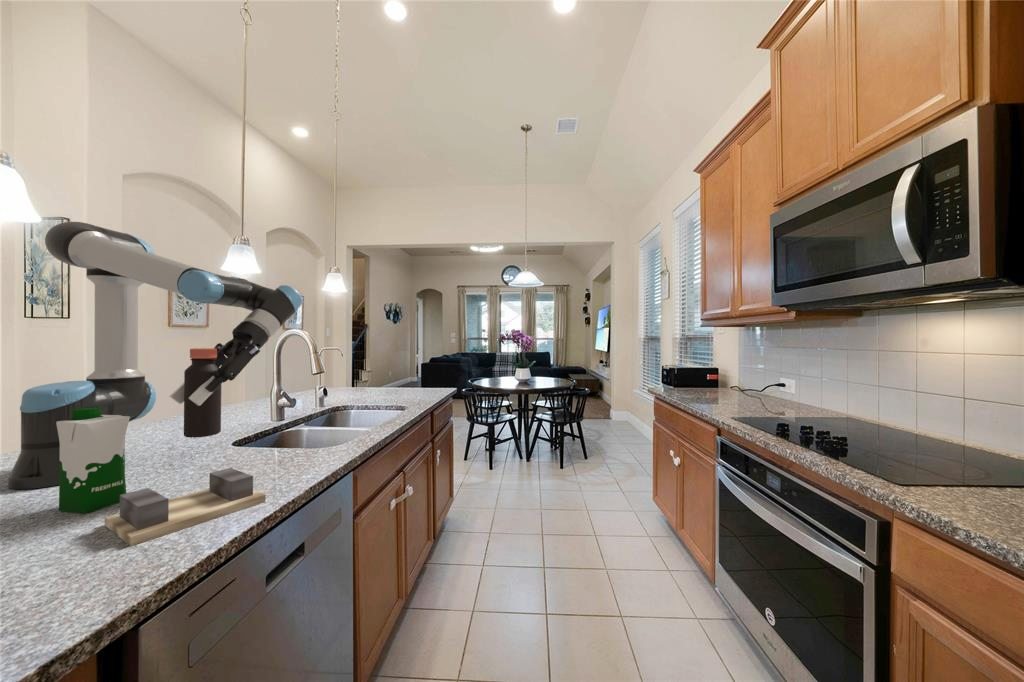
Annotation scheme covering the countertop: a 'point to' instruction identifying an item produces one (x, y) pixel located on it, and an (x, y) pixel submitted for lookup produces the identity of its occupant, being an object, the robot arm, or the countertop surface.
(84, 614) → the countertop surface
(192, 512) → the end cap board
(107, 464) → the milk carton
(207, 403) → the vinegar
